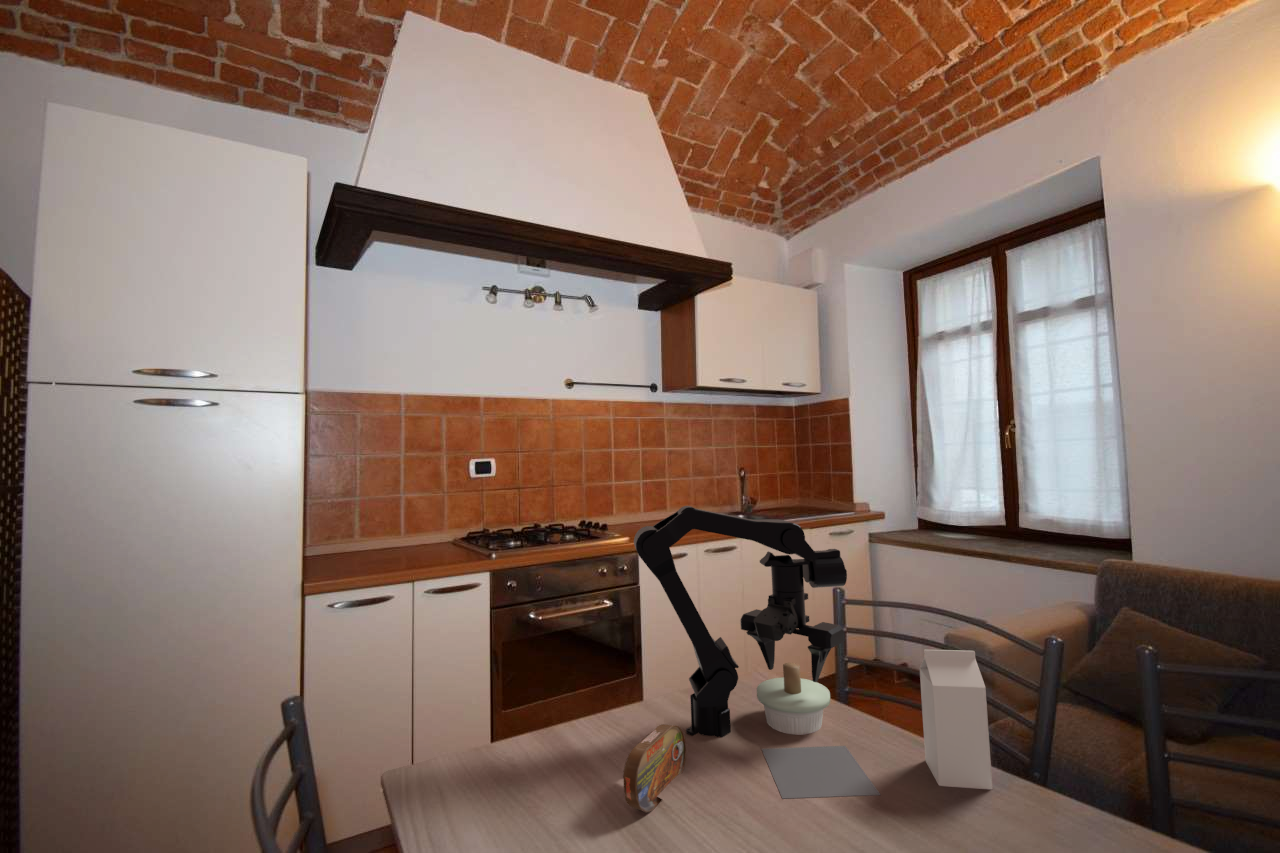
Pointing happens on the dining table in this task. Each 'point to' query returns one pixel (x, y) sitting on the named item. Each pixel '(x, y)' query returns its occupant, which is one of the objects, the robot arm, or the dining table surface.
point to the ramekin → (794, 721)
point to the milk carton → (955, 719)
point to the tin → (653, 766)
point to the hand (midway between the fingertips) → (792, 675)
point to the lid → (793, 692)
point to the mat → (817, 772)
